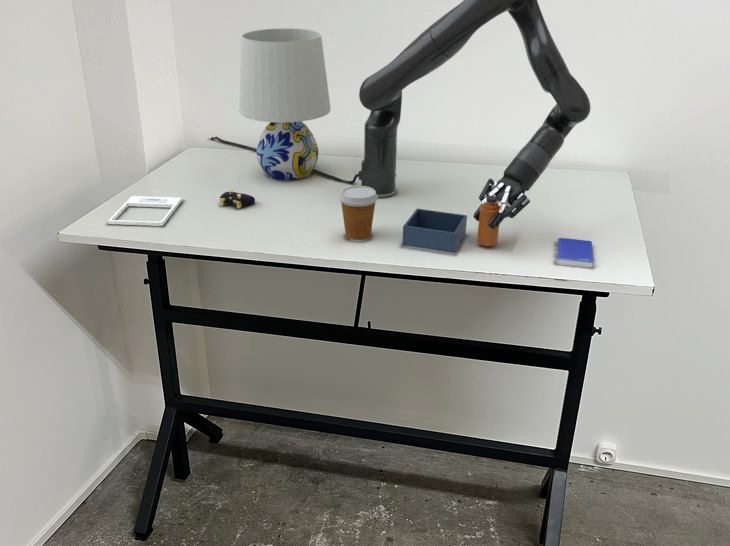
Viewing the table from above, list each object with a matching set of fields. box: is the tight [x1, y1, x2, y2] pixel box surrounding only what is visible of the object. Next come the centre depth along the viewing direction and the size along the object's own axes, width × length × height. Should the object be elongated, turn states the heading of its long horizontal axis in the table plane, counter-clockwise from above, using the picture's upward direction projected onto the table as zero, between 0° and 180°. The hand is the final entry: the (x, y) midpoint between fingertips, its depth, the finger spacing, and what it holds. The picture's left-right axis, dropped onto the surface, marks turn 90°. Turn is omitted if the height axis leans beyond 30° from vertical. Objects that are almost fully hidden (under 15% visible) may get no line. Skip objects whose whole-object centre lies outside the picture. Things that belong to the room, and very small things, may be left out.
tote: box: [401, 208, 468, 254], centre depth 178 cm, size 13×12×6 cm
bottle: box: [476, 195, 501, 247], centre depth 173 cm, size 5×5×12 cm
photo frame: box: [107, 195, 183, 227], centre depth 195 cm, size 15×1×18 cm
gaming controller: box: [219, 190, 256, 209], centre depth 200 cm, size 10×5×6 cm
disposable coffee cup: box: [338, 185, 379, 241], centre depth 179 cm, size 10×10×12 cm
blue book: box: [556, 237, 594, 269], centre depth 172 cm, size 2×8×12 cm
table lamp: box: [238, 27, 332, 181], centre depth 212 cm, size 27×27×40 cm
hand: (483, 223), depth 172 cm, fingers closed on bottle, 5 cm apart
